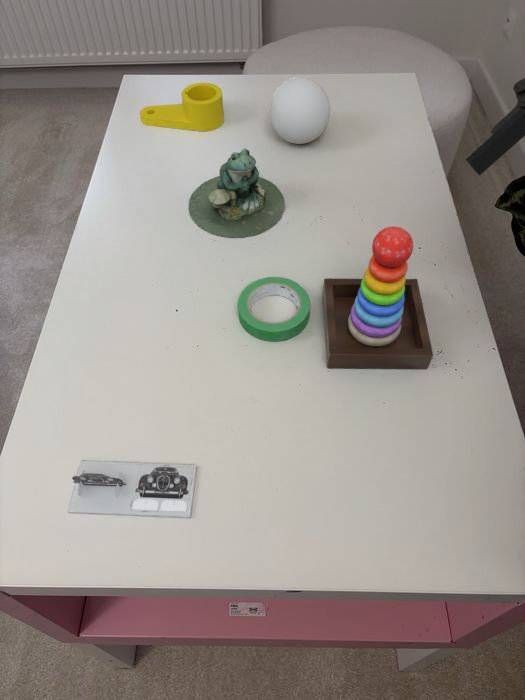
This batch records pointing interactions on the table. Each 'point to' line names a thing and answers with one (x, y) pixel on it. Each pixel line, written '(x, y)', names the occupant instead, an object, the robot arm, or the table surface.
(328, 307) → the square tray
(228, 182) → the frog figurine
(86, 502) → the car cutout
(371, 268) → the stacking toy
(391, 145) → the table surface
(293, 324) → the tape roll
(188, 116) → the crank
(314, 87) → the decorative ball
